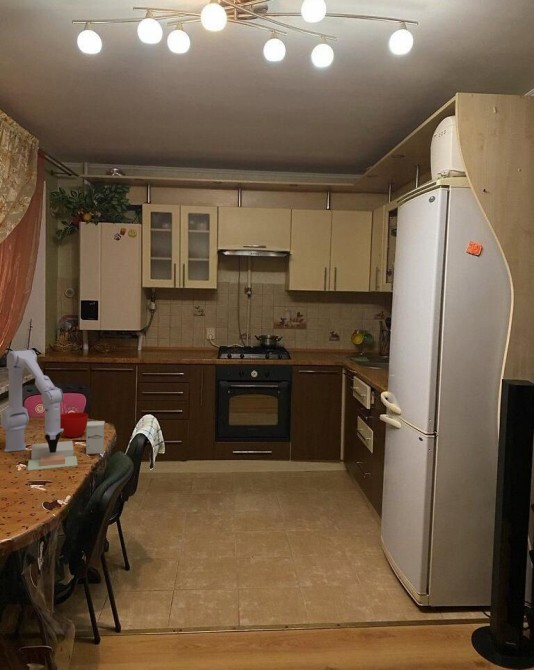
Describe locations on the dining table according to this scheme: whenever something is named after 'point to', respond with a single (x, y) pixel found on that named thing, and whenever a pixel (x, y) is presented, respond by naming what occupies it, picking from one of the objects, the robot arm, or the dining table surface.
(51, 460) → the tile
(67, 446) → the deck
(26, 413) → the robot arm
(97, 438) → the supplement box
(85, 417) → the ceramic cup
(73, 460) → the mat
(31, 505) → the dining table surface
